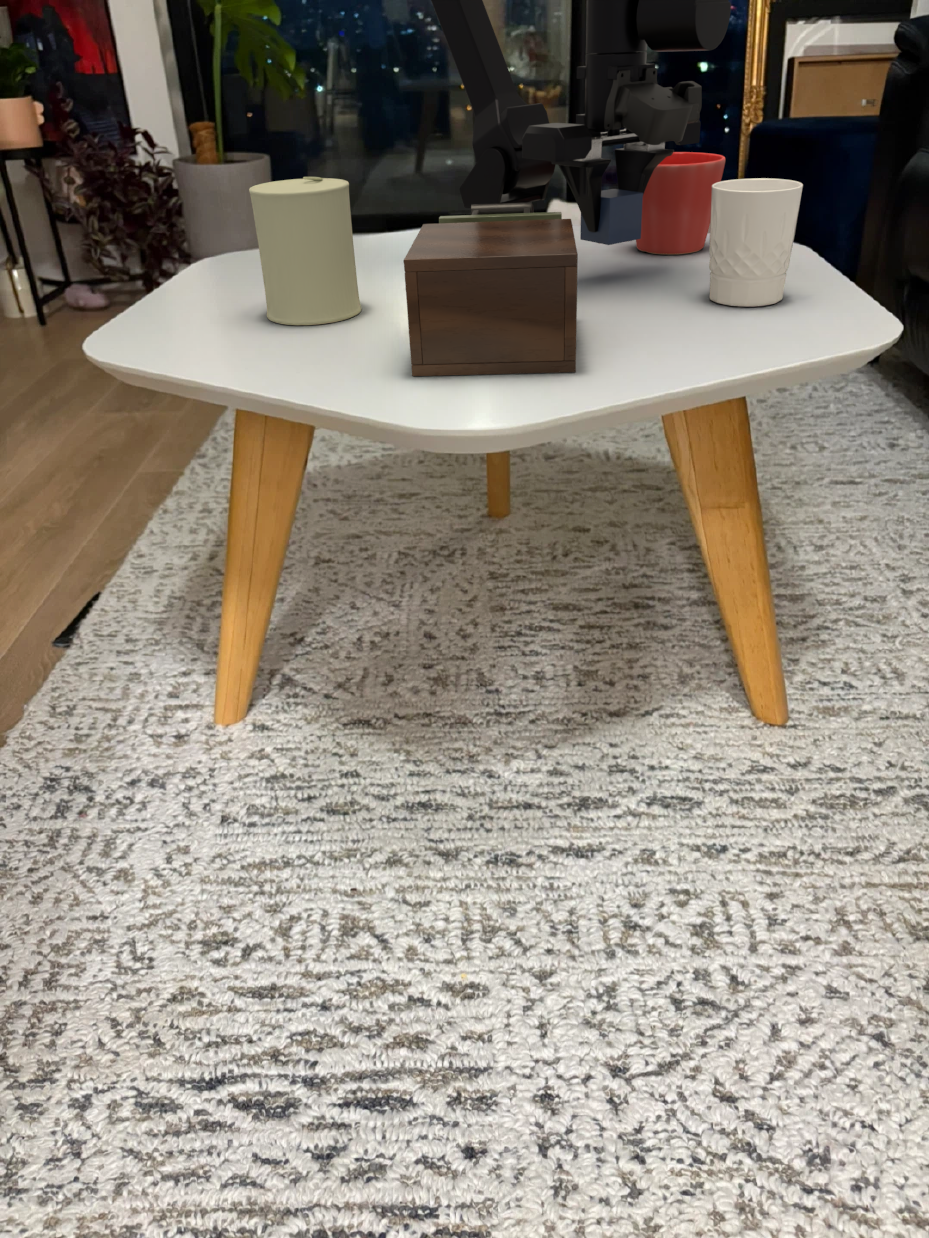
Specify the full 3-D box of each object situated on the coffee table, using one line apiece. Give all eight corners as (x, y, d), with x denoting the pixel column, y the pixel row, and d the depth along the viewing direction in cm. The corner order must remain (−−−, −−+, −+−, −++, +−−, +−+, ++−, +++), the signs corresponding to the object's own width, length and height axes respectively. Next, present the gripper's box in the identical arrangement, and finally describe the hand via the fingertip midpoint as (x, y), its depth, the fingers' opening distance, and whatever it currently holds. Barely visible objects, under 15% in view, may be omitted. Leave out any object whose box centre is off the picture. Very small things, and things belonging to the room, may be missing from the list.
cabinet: (429, 326, 89) (423, 224, 85) (569, 322, 88) (571, 218, 84) (412, 376, 77) (403, 259, 72) (575, 372, 76) (577, 253, 71)
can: (376, 303, 98) (365, 172, 91) (337, 327, 90) (321, 187, 84) (294, 299, 100) (277, 172, 94) (249, 323, 93) (228, 187, 87)
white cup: (791, 309, 89) (806, 190, 83) (702, 309, 90) (712, 192, 85) (785, 288, 95) (799, 177, 90) (702, 288, 97) (711, 179, 91)
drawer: (447, 279, 101) (443, 204, 97) (559, 276, 100) (560, 200, 96) (431, 326, 85) (426, 239, 82) (564, 323, 85) (565, 235, 81)
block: (580, 239, 101) (580, 194, 99) (612, 233, 103) (613, 188, 101) (608, 245, 98) (610, 198, 96) (640, 239, 100) (643, 192, 98)
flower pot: (737, 250, 111) (746, 157, 106) (652, 262, 108) (657, 166, 103) (687, 236, 120) (693, 148, 115) (607, 246, 117) (610, 157, 112)
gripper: (597, 58, 82) (593, 253, 90) (750, 47, 91) (733, 225, 99) (517, 59, 90) (519, 238, 98) (664, 48, 99) (655, 213, 107)
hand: (610, 228), depth 100 cm, fingers closed on block, 4 cm apart
